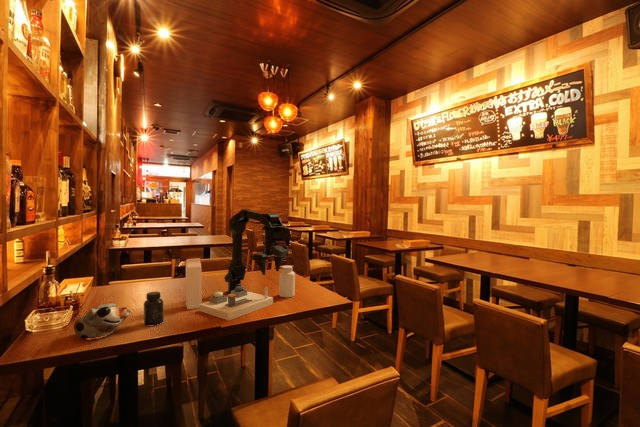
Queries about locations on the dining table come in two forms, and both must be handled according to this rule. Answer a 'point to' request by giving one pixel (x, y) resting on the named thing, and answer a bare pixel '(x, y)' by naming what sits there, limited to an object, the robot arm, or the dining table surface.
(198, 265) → the milk
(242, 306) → the console
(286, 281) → the pill bottle
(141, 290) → the dining table surface
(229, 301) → the slider
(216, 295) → the pale yellow button
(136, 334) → the dining table surface
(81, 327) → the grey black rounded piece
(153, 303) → the supplement bottle
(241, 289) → the grey dome
